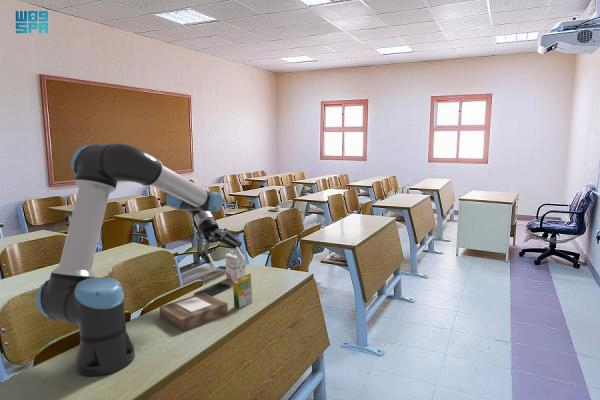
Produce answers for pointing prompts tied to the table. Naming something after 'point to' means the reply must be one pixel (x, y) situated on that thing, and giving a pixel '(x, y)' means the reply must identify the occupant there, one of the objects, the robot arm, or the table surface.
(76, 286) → the robot arm
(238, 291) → the crayon box
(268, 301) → the table surface
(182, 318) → the brown wooden flat block
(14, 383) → the table surface
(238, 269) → the ink cartridge box
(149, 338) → the table surface
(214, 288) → the phone
